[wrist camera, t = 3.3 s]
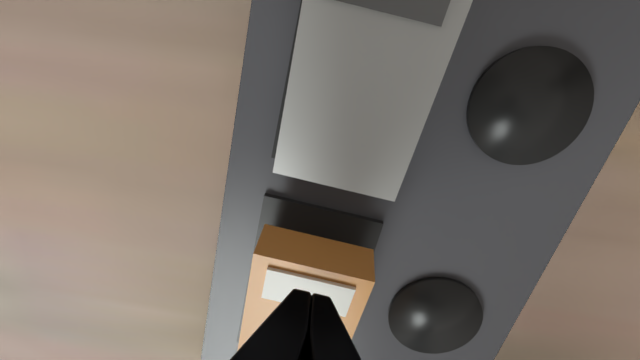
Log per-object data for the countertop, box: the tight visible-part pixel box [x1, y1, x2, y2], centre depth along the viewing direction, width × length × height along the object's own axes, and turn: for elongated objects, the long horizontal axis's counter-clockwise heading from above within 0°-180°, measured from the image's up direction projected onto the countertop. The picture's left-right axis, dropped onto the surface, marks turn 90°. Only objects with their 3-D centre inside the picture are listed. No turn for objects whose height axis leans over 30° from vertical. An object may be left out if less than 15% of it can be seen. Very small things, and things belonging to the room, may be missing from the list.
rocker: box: [273, 0, 473, 202], centre depth 8 cm, size 5×3×1 cm, turn 167°
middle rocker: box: [237, 224, 375, 351], centre depth 10 cm, size 5×3×1 cm, turn 167°
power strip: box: [201, 0, 640, 360], centre depth 13 cm, size 20×10×3 cm, turn 167°
